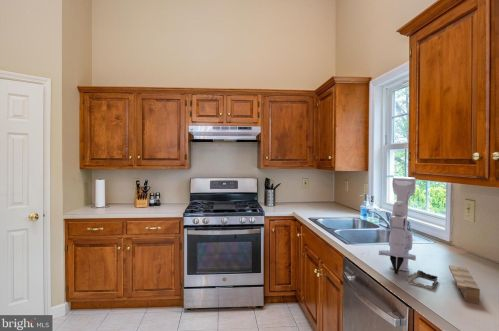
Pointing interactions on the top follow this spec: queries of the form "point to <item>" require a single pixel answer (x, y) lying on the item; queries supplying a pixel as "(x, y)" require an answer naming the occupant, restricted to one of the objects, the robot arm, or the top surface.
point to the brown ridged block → (466, 284)
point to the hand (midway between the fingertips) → (396, 273)
